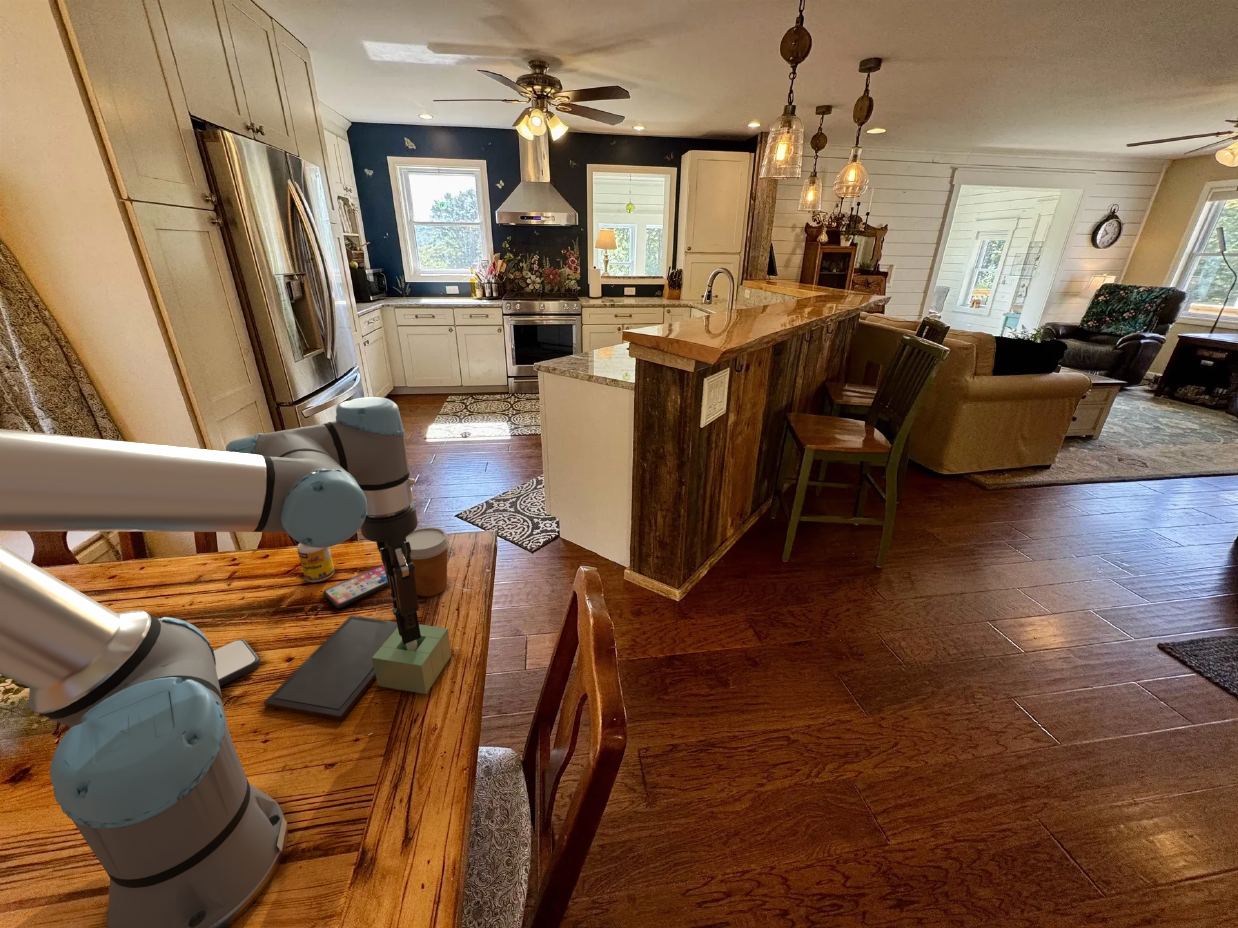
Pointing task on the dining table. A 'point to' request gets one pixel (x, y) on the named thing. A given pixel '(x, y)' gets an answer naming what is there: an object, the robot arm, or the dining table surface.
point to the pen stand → (412, 660)
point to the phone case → (234, 661)
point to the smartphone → (357, 587)
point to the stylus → (412, 646)
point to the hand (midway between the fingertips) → (409, 635)
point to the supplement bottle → (315, 562)
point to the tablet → (335, 671)
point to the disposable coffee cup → (429, 559)
